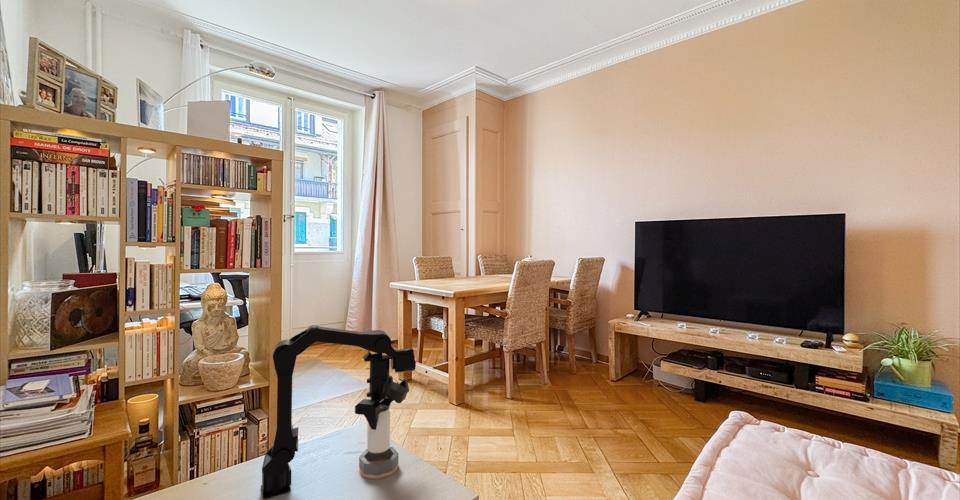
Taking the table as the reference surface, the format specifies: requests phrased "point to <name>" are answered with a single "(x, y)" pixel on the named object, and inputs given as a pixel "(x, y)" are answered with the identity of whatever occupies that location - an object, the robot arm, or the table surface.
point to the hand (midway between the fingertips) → (378, 426)
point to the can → (379, 433)
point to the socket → (378, 464)
